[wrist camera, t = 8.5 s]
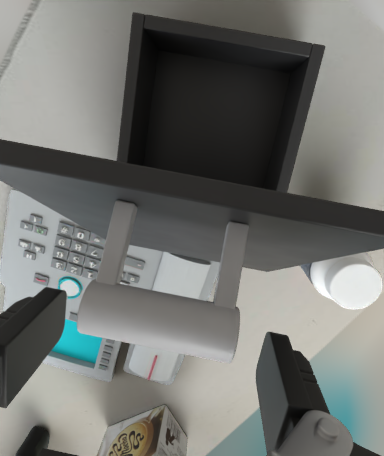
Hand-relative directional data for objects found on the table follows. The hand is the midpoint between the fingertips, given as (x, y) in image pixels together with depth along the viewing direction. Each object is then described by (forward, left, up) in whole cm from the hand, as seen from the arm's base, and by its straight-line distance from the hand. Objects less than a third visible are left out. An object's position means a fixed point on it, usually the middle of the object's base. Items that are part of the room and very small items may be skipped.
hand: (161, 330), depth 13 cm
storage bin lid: (-2, 0, -7) cm, 7 cm away
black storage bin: (-6, 0, -22) cm, 23 cm away
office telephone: (+13, -9, -22) cm, 27 cm away
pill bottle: (+2, +13, -22) cm, 26 cm away
